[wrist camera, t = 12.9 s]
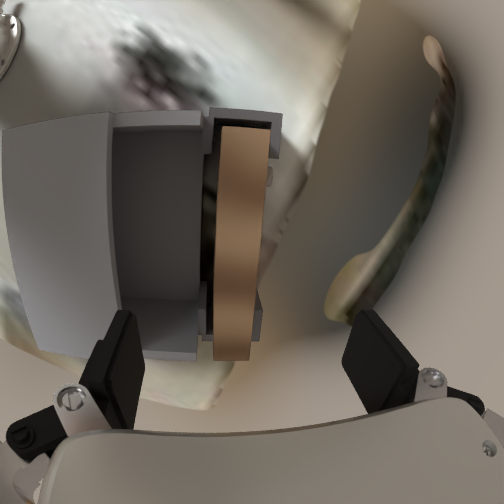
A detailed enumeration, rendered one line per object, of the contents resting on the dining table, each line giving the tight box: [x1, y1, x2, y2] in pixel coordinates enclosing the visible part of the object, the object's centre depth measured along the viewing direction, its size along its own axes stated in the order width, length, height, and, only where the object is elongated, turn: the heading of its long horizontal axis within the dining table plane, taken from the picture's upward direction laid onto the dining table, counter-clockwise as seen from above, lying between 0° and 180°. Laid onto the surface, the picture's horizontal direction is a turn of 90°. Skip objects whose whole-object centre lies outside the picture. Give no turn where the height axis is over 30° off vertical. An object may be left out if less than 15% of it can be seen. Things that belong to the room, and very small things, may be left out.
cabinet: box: [2, 108, 283, 361], centre depth 24 cm, size 22×22×11 cm
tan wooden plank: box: [213, 126, 272, 361], centre depth 25 cm, size 18×4×11 cm, turn 176°
